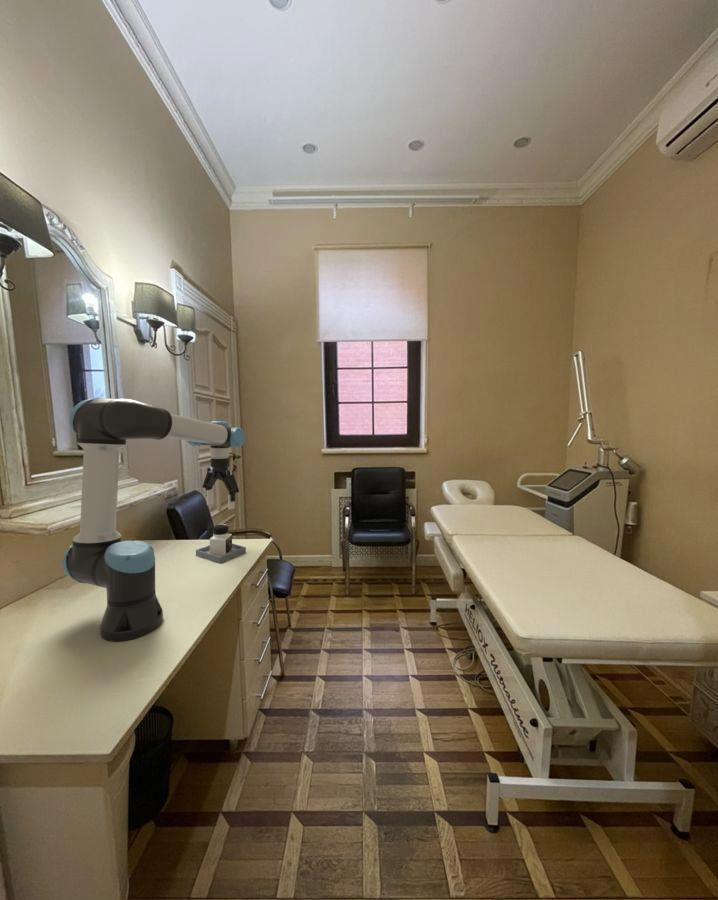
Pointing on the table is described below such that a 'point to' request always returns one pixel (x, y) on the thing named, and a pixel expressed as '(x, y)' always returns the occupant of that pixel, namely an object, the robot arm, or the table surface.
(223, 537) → the medicine bottle
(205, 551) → the tray
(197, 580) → the table surface
